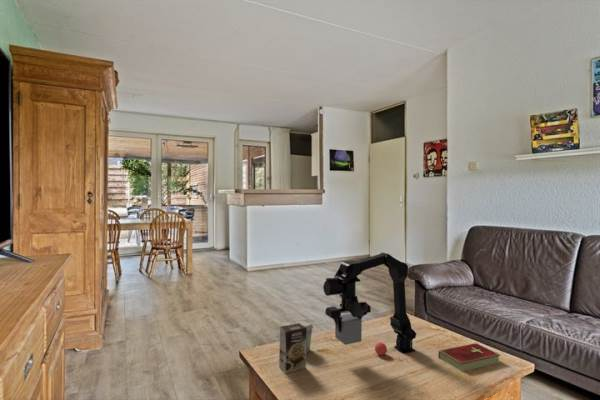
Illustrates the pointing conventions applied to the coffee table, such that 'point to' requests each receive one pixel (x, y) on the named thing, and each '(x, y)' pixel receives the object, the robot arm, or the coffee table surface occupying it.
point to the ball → (380, 348)
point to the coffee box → (292, 347)
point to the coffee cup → (309, 332)
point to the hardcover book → (468, 356)
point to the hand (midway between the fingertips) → (348, 330)
